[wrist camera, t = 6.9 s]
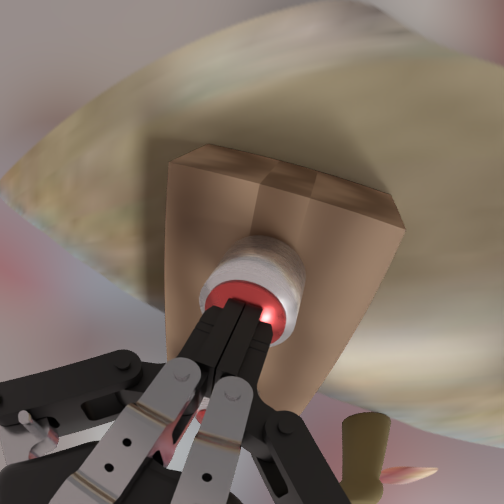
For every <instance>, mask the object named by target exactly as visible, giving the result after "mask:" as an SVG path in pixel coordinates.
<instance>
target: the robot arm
mask: <svg viewBox="0 0 504 504" xmlns="http://www.w3.org/2000/svg"><path fill="white" fill-rule="evenodd" d="M262 312H263V308H260V307H257V306H254V305H250V304H246V303H244V302H241V301H238V300H235V299H232V298H229V299H228V300H227V302H226V304H225V306H224V308H220V307H218V306H215V305H213V306H212V307H210V308H209V309H207V310H206V311H204V313H203V315H202V316H201V318H200V320H199V322H198V323H197V324H196V326H195V328H194V329H193V331H192V333H191V334H190V336H189V338H188V339H187V341H186V343H185V345H184V346H183V348H182V350H181V351H180V353H179V354H178V356H177V357H176V358H174V359H171V360H169V361H168V362H167V363H162V364H155V363H148V362H141V360H140V358H139V357H138V356H137V354H135V353H134V352H132V351H129V350H117V351H114V352H111V353H107V354H104V355H100V356H97V357H94V358H90V359H87V360H84V361H80V362H77V363H73V364H70V365H66V366H63V367H59V368H55V369H52V370H48V371H44V372H40V373H37V374H33V375H29V376H25V377H21V378H17V379H13V380H9V381H5V382H0V440H1V445H2V449H3V453H4V457H5V461H6V465H7V466H6V467H5V468H3V469H2V470H1V472H0V504H243V503H242V502H241V501H240V500H239V499H238V498H237V497H236V496H235V495H234V494H232V493H231V492H230V488H231V484H232V480H233V477H234V474H235V470H236V466H237V462H238V459H239V455H240V450H241V447H243V448H244V449H246V450H247V451H249V452H250V453H251V455H252V457H253V460H254V462H255V464H256V466H257V468H258V470H259V472H260V475H261V477H262V479H263V480H264V483H265V485H266V487H267V489H268V491H269V493H270V495H271V497H272V498H273V501H274V503H275V504H351V502H350V500H349V499H348V497H347V495H346V494H345V492H344V490H343V489H342V487H341V485H340V484H339V482H338V480H337V479H336V477H335V475H334V474H333V472H332V470H331V469H330V467H329V465H328V463H327V462H326V460H325V458H324V457H323V455H322V453H321V451H320V450H319V448H318V446H317V445H316V443H315V441H314V439H313V437H312V436H311V434H310V432H309V430H308V428H307V427H306V425H305V423H304V421H303V420H302V418H301V417H300V416H298V415H297V414H295V413H294V412H291V411H286V410H282V411H276V410H274V409H273V408H271V407H270V406H268V405H267V404H266V403H264V402H263V401H262V399H261V398H260V396H259V395H258V392H257V383H258V380H259V377H260V374H261V371H262V368H263V365H264V362H265V359H266V356H267V353H268V350H269V347H270V344H271V340H272V337H273V330H272V325H271V324H269V323H266V322H263V321H260V319H261V316H262ZM204 397H207V398H209V399H210V400H209V403H208V406H207V409H206V411H205V414H204V417H203V420H202V423H201V426H200V428H199V431H198V433H197V434H196V436H195V438H194V441H193V443H192V446H191V449H190V452H189V454H188V457H187V460H186V463H185V466H184V468H183V471H182V472H180V471H175V470H169V469H166V468H167V466H168V465H169V463H170V461H171V460H172V457H173V455H174V452H175V449H176V447H177V445H178V443H179V442H180V440H181V438H182V437H183V435H184V433H185V432H186V430H187V428H188V427H189V425H190V423H191V422H192V420H193V418H194V416H195V415H196V413H197V411H198V408H199V406H200V404H201V402H202V400H203V398H204ZM114 420H115V422H114V423H113V424H112V425H111V427H110V428H109V429H108V431H107V432H106V433H105V435H104V436H103V437H102V439H101V440H100V441H92V442H88V443H84V444H81V445H78V446H75V447H72V448H69V449H66V450H62V451H59V452H56V453H52V454H49V455H45V453H47V452H50V451H52V450H54V449H55V448H56V447H57V444H58V442H59V437H61V436H64V435H68V434H71V433H75V432H79V431H82V430H86V429H89V428H92V427H96V426H99V425H102V424H105V423H108V422H111V421H114ZM44 455H45V456H44Z"/></svg>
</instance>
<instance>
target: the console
mask: <svg viewBox="0 0 504 504" xmlns="http://www.w3.org/2000/svg"><path fill="white" fill-rule="evenodd" d="M405 231H406V228H405V226H404V224H403V221H402V219H401V216H400V214H399V212H398V209H397V207H396V205H395V203H394V200H393V198H392V196H391V195H389V194H386V193H383V192H381V191H378V190H375V189H372V188H369V187H366V186H363V185H360V184H357V183H354V182H351V181H348V180H345V179H342V178H339V177H335V176H332V175H329V174H326V173H322V172H319V171H316V170H312V169H309V168H305V167H302V166H298V165H294V164H291V163H287V162H283V161H280V160H276V159H272V158H268V157H264V156H260V155H256V154H252V153H247V152H243V151H239V150H234V149H230V148H225V147H221V146H216V145H211V144H207V145H204V146H202V147H200V148H198V149H196V150H193V151H191V152H189V153H187V154H185V155H183V156H181V157H178V158H176V159H174V160H172V161H170V162H169V165H168V179H167V196H166V218H165V261H164V283H165V324H166V325H165V326H166V347H167V362H168V361H169V360H171V359H174V358H176V357H177V356H178V354H179V353H180V351H181V350H182V348H183V346H184V345H185V343H186V341H187V339H188V338H189V336H190V334H191V333H192V331H193V329H194V328H195V326H196V324H197V323H198V322H199V320H200V318H201V316H202V315H203V314H202V312H201V309H200V304H199V296H200V292H201V289H202V287H203V286H204V284H205V283H206V281H207V280H208V278H209V277H210V275H211V274H212V272H213V271H214V269H215V268H216V267H217V265H218V264H219V262H220V261H221V259H222V258H223V256H224V255H225V254H226V252H227V251H228V249H229V248H230V247H231V246H232V245H233V244H234V243H235V242H237V241H238V240H240V239H242V238H245V237H248V236H254V235H262V236H269V237H273V238H275V239H278V240H280V241H282V242H284V243H286V244H287V245H289V246H290V247H291V248H292V249H293V250H294V251H295V252H296V253H297V254H298V255H299V257H300V258H301V260H302V262H303V264H304V267H305V272H306V281H305V286H304V290H303V295H302V299H301V303H300V308H299V312H298V316H297V320H296V324H295V328H294V330H293V332H292V334H291V335H290V336H289V337H288V338H287V339H286V340H285V341H284V342H282V343H280V344H278V345H276V346H273V347H269V350H268V353H267V356H266V359H265V362H264V365H263V368H262V371H261V374H260V377H259V380H258V383H257V389H258V390H259V392H260V398H261V399H262V401H263V402H264V403H266V404H267V405H268V406H270V407H271V408H273V409H274V410H276V411H282V410H286V411H291V412H294V413H295V414H297V415H298V416H300V414H301V413H302V411H303V410H304V409H305V407H306V406H307V404H308V403H309V402H310V400H311V399H312V397H313V396H314V394H315V393H316V392H317V390H318V389H319V387H320V386H321V384H322V383H323V381H324V380H325V378H326V377H327V375H328V374H329V372H330V371H331V369H332V368H333V366H334V364H335V363H336V361H337V360H338V358H339V357H340V355H341V353H342V352H343V350H344V348H345V347H346V345H347V344H348V342H349V340H350V338H351V337H352V335H353V333H354V332H355V330H356V328H357V327H358V325H359V323H360V321H361V320H362V318H363V316H364V314H365V312H366V311H367V309H368V307H369V305H370V303H371V301H372V299H373V298H374V296H375V294H376V292H377V290H378V288H379V286H380V284H381V282H382V280H383V278H384V276H385V274H386V272H387V270H388V268H389V266H390V264H391V262H392V260H393V258H394V256H395V254H396V251H397V249H398V247H399V245H400V243H401V240H402V238H403V236H404V234H405Z"/></svg>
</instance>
